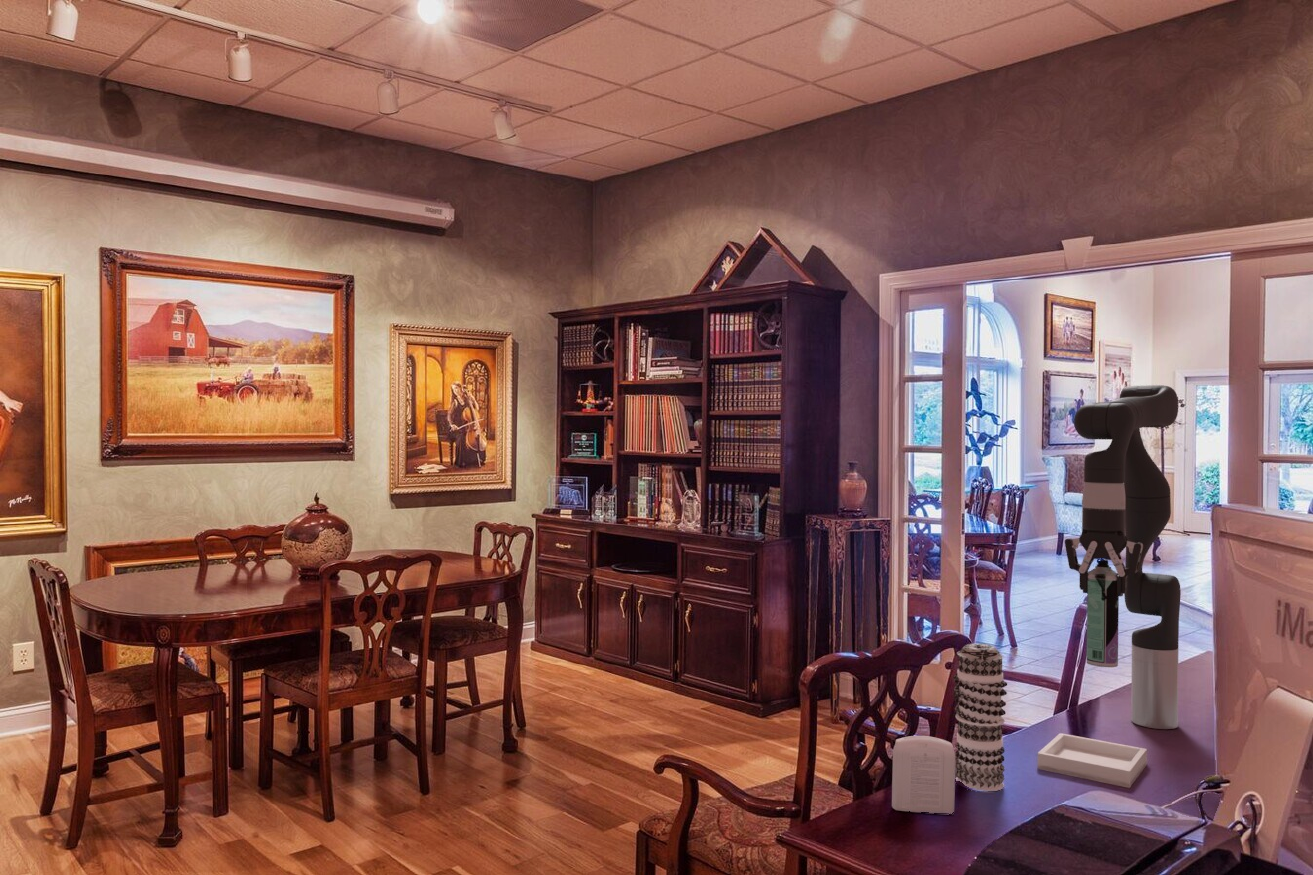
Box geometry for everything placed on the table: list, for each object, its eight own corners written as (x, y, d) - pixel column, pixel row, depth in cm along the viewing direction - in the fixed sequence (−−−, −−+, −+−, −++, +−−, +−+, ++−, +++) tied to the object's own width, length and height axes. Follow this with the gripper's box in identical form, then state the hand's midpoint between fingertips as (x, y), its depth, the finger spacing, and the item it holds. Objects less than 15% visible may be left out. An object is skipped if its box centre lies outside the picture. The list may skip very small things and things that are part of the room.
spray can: (1121, 668, 179) (1122, 562, 180) (1090, 666, 180) (1091, 560, 181) (1113, 662, 185) (1114, 559, 185) (1083, 660, 186) (1084, 558, 186)
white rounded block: (952, 807, 161) (953, 734, 161) (956, 817, 157) (957, 742, 157) (890, 803, 163) (891, 731, 163) (893, 812, 159) (893, 738, 159)
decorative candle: (980, 796, 166) (981, 653, 166) (942, 779, 174) (943, 643, 175) (1017, 788, 170) (1018, 648, 171) (978, 772, 179) (979, 639, 179)
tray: (1060, 747, 193) (1060, 733, 193) (1146, 764, 184) (1147, 748, 184) (1037, 768, 181) (1037, 752, 181) (1129, 787, 171) (1129, 771, 171)
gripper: (1148, 507, 182) (1147, 596, 181) (1069, 504, 190) (1068, 588, 190) (1141, 508, 176) (1140, 600, 175) (1059, 505, 184) (1058, 592, 184)
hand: (1102, 593), depth 183 cm, fingers closed on spray can, 5 cm apart
